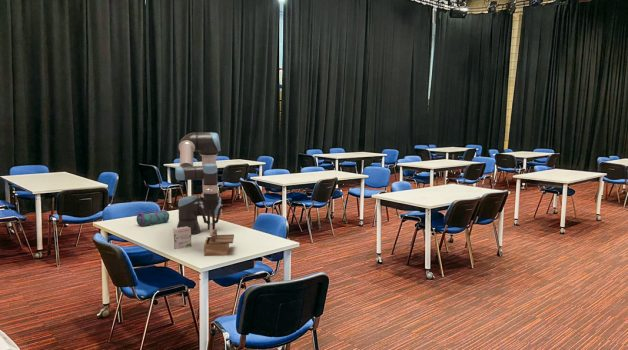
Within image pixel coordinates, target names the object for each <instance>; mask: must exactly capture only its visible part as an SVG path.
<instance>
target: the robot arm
mask: <svg viewBox="0 0 628 350" xmlns="http://www.w3.org/2000/svg"><path fill="white" fill-rule="evenodd" d="M219 137H220V136H219V134H218V133H217V132H211V131H210V132H204V131H203V132H190V133H187V134H186V135H184V136H183V137H182V138H181V139H180V140H179V143H178V151H179V166H176V167H175V168H174V170H175V173H174V174H175V179H176V180H177V181H194V180H195V181H201V180H202V192H201V194H200V197H198V196H197V195H188V196H183V197H180V198H179V199H178V201H177V202H178V204H177V208H178V223H177V226H176V228H180V227H190V228H191V236H192V235H193V236H194V235H197V234H200V233H201V230H202V229H201V226H200V224H199V221H198V217H202V219H203V223H204V224H207V231H208V230H209V237H211V236H212V234H213V231H214V230H216V224H218V222H219V220H220V215H221V211H222V209H223V207H224V205H223V204H222V198H221V197H220V195H219V193H218V192H219V191H218V190H219V187H218V165H217V156H218V155H219V152H220V151H221V150H222V149H221V143H220V138H219ZM194 152H199V156H201V165H195V166H194ZM211 220H212V221H211Z"/></svg>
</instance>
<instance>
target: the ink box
mask: <svg viewBox="0 0 628 350" xmlns="http://www.w3.org/2000/svg"><path fill="white" fill-rule="evenodd" d="M172 230H173V247H174V250H176V249H177V250H179V249H184V248H191V247H192V235H191V228H190V227H180V228H177V227H173V229H172Z"/></svg>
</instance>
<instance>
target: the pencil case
mask: <svg viewBox="0 0 628 350" xmlns="http://www.w3.org/2000/svg"><path fill="white" fill-rule="evenodd" d="M169 220H170V213H169V212H168V210H166V209H164V208H163V209H161V210H159V211H154V212H153V213H144V212H141V213H140V212H138V213H137V216H136V222H137V225H138V226H139V227H145V226H151V224H152V225H159V224H158V223H160V224H165V223H167V222H168V221H169ZM164 222H165V223H164Z"/></svg>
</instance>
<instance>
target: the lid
mask: <svg viewBox="0 0 628 350" xmlns="http://www.w3.org/2000/svg"><path fill="white" fill-rule="evenodd" d="M210 237H211V238H210V241H209V244H226V243H229V244H234V239H235V234H233V233H232V234H218V231H217V229H215V230H213V234H212V236H210Z"/></svg>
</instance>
